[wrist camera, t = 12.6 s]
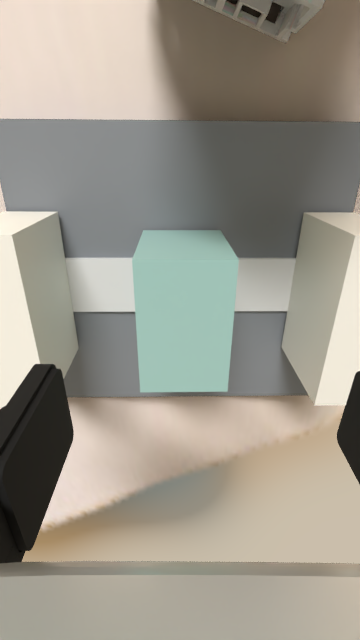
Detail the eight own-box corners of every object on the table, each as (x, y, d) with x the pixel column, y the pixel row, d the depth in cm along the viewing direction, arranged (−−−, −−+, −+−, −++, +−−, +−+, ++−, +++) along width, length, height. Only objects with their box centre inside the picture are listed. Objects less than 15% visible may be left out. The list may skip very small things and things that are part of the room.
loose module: (220, 230, 19) (238, 259, 14) (214, 338, 23) (227, 395, 17) (143, 230, 19) (132, 259, 14) (148, 338, 23) (140, 396, 17)
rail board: (359, 124, 19) (470, 106, 12) (303, 383, 27) (350, 463, 20) (0, 121, 18) (-107, 101, 11) (53, 384, 26) (11, 468, 19)
